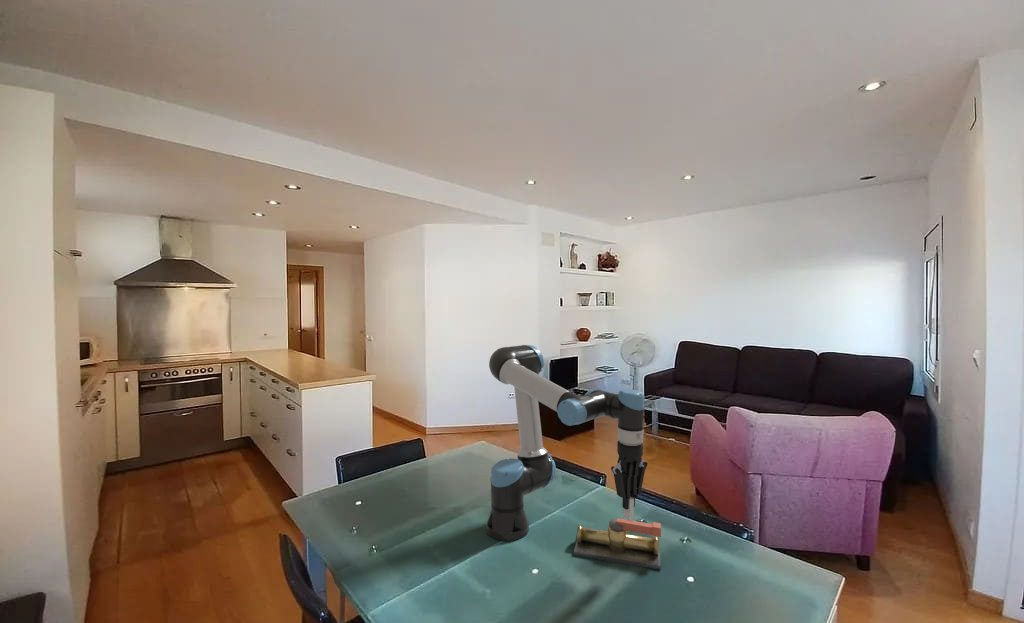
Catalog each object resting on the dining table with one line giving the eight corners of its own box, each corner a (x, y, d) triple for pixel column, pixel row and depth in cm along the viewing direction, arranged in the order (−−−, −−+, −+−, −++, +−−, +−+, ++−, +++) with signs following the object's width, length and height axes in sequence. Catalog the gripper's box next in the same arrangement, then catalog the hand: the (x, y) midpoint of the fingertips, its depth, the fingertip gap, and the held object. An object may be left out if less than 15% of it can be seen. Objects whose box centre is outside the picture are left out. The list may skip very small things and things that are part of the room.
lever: (660, 539, 126) (660, 529, 126) (608, 529, 132) (608, 520, 132) (661, 531, 131) (660, 522, 131) (610, 522, 136) (610, 513, 136)
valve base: (573, 555, 130) (573, 533, 130) (579, 531, 144) (579, 512, 144) (660, 569, 123) (660, 546, 123) (658, 543, 136) (658, 522, 136)
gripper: (622, 449, 118) (620, 530, 118) (655, 442, 124) (653, 518, 125) (605, 441, 124) (603, 517, 125) (636, 434, 130) (635, 507, 131)
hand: (628, 518), depth 125 cm, fingers closed
